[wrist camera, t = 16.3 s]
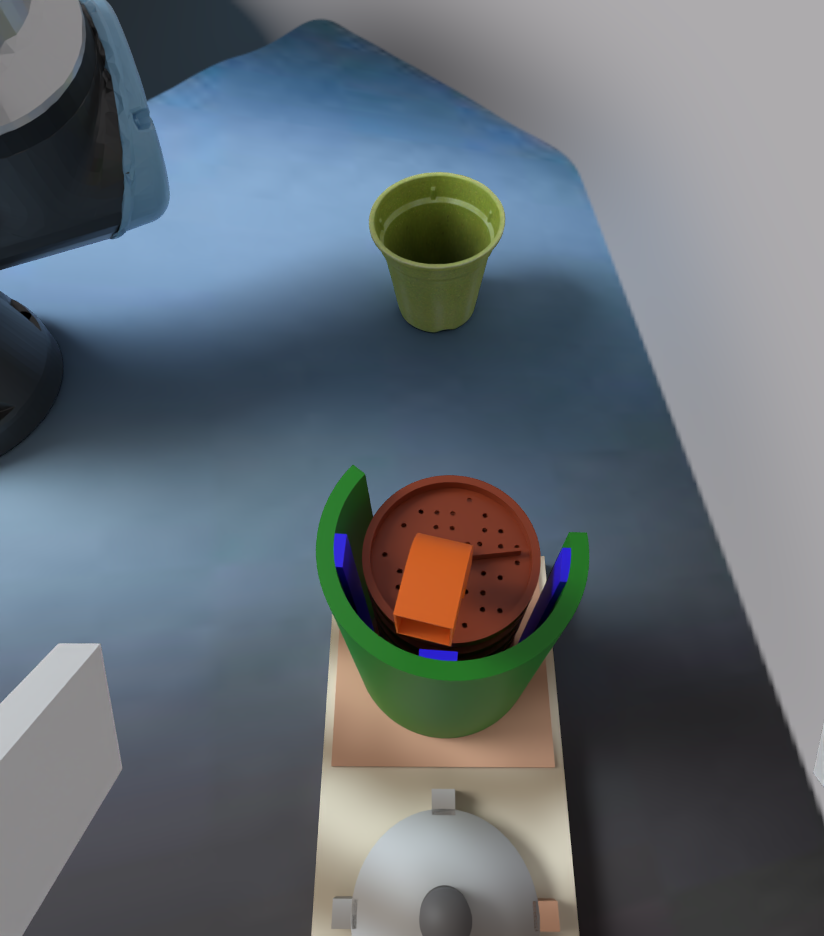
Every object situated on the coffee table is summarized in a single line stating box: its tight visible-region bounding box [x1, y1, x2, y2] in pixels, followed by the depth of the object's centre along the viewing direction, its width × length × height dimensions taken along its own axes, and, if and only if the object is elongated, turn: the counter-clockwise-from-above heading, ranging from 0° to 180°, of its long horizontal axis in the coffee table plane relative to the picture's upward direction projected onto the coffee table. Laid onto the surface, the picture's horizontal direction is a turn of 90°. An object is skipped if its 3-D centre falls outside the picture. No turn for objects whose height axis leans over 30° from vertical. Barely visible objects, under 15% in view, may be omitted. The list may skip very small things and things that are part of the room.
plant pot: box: [369, 172, 505, 332], centre depth 49 cm, size 9×9×9 cm
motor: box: [316, 465, 589, 738], centre depth 29 cm, size 10×9×20 cm
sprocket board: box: [311, 556, 579, 936], centre depth 35 cm, size 24×13×4 cm, turn 0°
